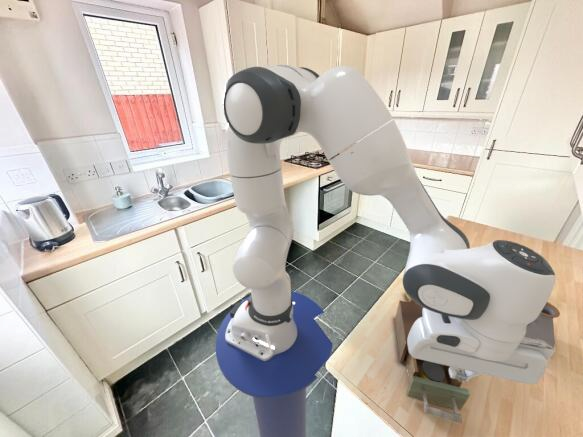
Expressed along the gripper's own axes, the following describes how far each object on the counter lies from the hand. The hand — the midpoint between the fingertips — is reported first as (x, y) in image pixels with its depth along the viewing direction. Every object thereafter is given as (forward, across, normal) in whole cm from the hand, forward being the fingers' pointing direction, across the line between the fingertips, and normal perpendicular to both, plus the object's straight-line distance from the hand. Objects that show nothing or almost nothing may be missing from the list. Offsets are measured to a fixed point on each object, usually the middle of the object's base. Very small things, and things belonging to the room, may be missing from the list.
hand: (457, 376), depth 47 cm
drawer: (+16, 0, -7) cm, 18 cm away
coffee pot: (+17, -27, -26) cm, 41 cm away
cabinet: (+17, 0, -19) cm, 26 cm away
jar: (+15, 0, -8) cm, 17 cm away
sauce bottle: (+17, -1, -37) cm, 41 cm away
